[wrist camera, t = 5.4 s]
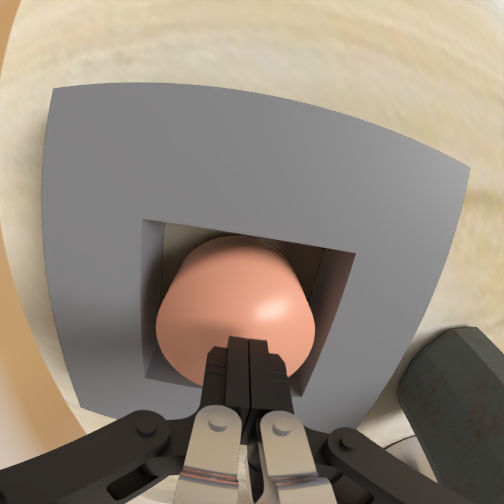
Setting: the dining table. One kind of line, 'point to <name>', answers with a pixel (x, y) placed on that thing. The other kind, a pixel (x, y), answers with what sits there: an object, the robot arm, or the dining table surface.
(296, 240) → the button box
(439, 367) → the bottle
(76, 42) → the dining table surface
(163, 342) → the button cap
